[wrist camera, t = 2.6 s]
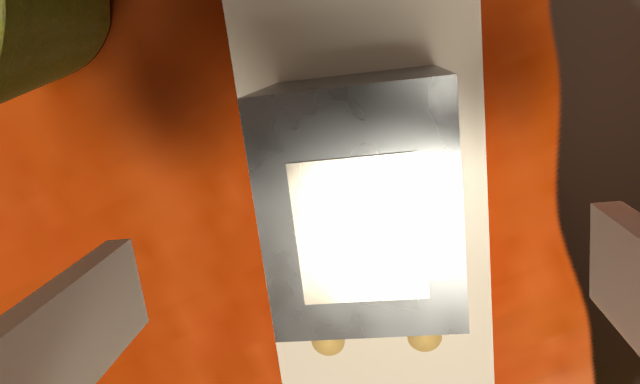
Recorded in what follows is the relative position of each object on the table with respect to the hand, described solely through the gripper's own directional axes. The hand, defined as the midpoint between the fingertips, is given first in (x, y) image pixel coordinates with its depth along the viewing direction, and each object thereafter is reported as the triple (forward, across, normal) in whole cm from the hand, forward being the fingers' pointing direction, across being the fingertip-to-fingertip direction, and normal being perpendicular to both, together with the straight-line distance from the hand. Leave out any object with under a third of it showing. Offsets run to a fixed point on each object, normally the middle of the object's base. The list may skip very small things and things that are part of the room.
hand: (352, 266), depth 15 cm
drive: (+10, 0, 0) cm, 10 cm away
